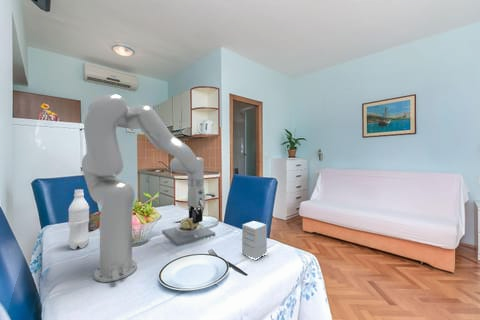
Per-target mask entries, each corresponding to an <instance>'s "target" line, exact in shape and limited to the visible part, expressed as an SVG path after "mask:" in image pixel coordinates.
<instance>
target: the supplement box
mask: <svg viewBox="0 0 480 320" xmlns="http://www.w3.org/2000/svg"><path fill="white" fill-rule="evenodd" d="M267 225H268V224H265V223H263V222H259V221H255V220H252V221H249V222H246V223H242V226H241V227H242V229H241V230H242V232H241V233H242V234H241V235H242V237H241V240H242V243H241V245H242V246H241V248H242V249H241V253H242V254H244V255H247V256H250V257H253V258H255V259H256V258H258V257H260V256H262V255H263V254H265V253H266V252H268V244H267V243H268V241H267V240H268V238H267V236H268V235H267V234H268V232H267V231H268V230H267V229H268V226H267ZM244 255H243V256H244Z"/></svg>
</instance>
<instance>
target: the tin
mask: <svg viewBox="0 0 480 320" xmlns="http://www.w3.org/2000/svg"><path fill="white" fill-rule="evenodd" d="M100 215H101V210H99V211H97V212H95V213H91V214H89V223H88V231H95V230H98V229H100Z"/></svg>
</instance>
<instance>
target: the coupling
mask: <svg viewBox="0 0 480 320" xmlns="http://www.w3.org/2000/svg"><path fill="white" fill-rule="evenodd" d="M196 214H197V212H196V208H195V209H193V210H192V218H189V217H187V218H185V219H182V220H181V225H182V229H181V230H185V231H189V230H194V229H195V226H198V225H199V224H200V222H196Z"/></svg>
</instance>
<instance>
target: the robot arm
mask: <svg viewBox="0 0 480 320" xmlns="http://www.w3.org/2000/svg"><path fill="white" fill-rule="evenodd" d="M87 111H88V112H87V113H86V117H85V120H84V125H83V132H84V138H85V142H86V147H87V151H88V152H87V153H86V154H85V155H84V156H83V157H82V159H81V169H82V173H83V177H84V180H85V183H86V187H87V189H88V193H89V195H90V197H91V199H92V200H93V201H94V202H95V203H97V204H99V205H101V210H100V211H101V215H100V228H99V267H98V268H97V269H95V271H94V274H93V278H94V280H95V281H98V282H101V283H102V282H103V283H107V282H108V283H109V282H110V283H111V282H115V281H118V280H122V279H125V278H126V277H128V276H130V275H132V274H133V273H134V272H135V271H137V267H138V264H137V261H135V260H134V259H133V208H134V203H135V197H136V196H135V195H136V194H135V190H134V188H133V186H132V185H131V184H130V182H128V181H125V180H122V179H117V176H118V175H119V174H120V173H122V171H123V169H124V159H123V157H122V154H121V153H122V151H121V150H120V145H119V142H118V136H117V128H122V129H123V128H124V129H131V130H138V129H140V131H141V132H142V133H143V134H144V135H145V137H146V138H147V139H148V140H149V142H150V143H151V144H152V146H153V147H154V148H156V149H158V150H160V151H162V152H165V153H167V154H170V155H171V156H173V157H174V158H172V159H171V160H170V163H169V168H170V170H171V171H172V172H174V173H176V174H187V187H188V188H187V207H188V218H192V210H193V209H196V212H197V214H196V222H199V223H200V222H203V215H204V210H205V208H206V197H205V196H206V194H205V186H204V175H205V174H204V168H205V167H204V166H205V165H204V163H205V162H204V161H205V160H204V158H203V157H200V156H196V155H195V152H193V150H192V149H191V148H190V147H189V146H188V145H187V144H186V143H184V142H183V141H182V140H181V139H179V138H178V137H176V136H175V135H173V134H172V132H171V131H170V130H169V128H168V127H167V125H165V123H164V121H163V120H162V119H161V117H160V116H159V115H158V114H157V112H156V111H155V109H153V108H152V106H150V105H146V104H142V105H137V106H133V107H131V106H128V102H127V100H126V99H125V98H124V97H123V96H122V95H120V94H119V93H118V94H117V93H108V94H105V95H102V96H101V97H98V98H96V99H95V100H92V101H91V102H90V103H89V105H88V108H87Z"/></svg>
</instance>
